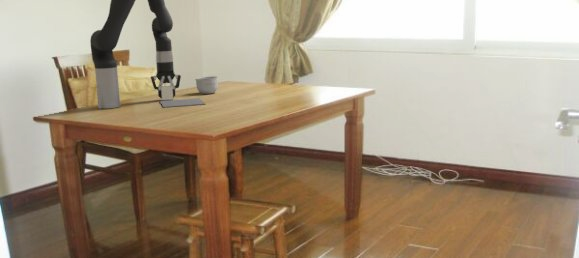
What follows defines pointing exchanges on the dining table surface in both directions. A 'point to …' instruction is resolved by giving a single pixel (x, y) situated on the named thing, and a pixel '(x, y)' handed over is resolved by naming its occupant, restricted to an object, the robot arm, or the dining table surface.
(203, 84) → the teacup
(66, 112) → the dining table surface
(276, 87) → the dining table surface
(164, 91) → the cream block
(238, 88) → the dining table surface
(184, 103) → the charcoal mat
